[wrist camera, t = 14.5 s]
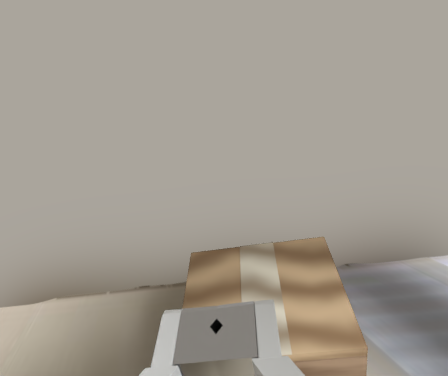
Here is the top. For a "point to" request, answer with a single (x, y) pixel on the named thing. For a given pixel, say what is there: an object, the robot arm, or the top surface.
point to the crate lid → (283, 294)
